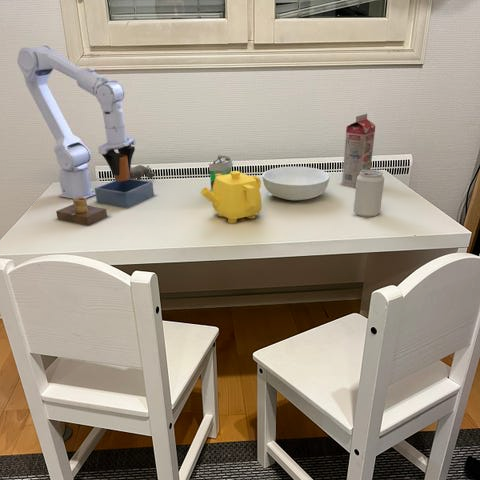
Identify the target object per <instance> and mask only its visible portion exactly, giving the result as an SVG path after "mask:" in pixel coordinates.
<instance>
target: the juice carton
mask: <svg viewBox="0 0 480 480" xmlns="http://www.w3.org/2000/svg"><path fill="white" fill-rule="evenodd" d="M345 128H346V130H345V141H344V143H345V144H344V154H343V163H342V176H341V177H342V178H341V185H342V186H346V187H351V188H356V180H357V176H358V175H360V171H362V170H372V160H373V152H374V141H375V133H376V124H374V123H373V122H372V121H370V120H369V118H368V113H364V114H360V115H357V116H356V118H355V122H353V123H350V124H349V125H347V126H346V127H345Z"/></svg>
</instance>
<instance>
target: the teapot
mask: <svg viewBox="0 0 480 480" xmlns="http://www.w3.org/2000/svg"><path fill="white" fill-rule="evenodd" d="M215 175H216V178H215V181H214V185H213V189H212V192H211V189H210V188H208V187H206V186H205V187H203V188H202V189H201V191H200V195H201V196H203V197H204V198H205V199H206V200H208V201H209V202H210V203H211V206H212V208H213V210H214V211H215V212H216V213H217V216H218V217H225V218H227V222H228V224H229V223H230V224H235V223H237V222H238V219H242V218H247V219H252V220H253V219H255V218H256V215H258V214H260V212H261V209H262V196H261V190H260V189H261V186H262V181H261V179H260V178H259V177H258V176H256V175H249V174H247V173H246V174H245V173H242V172H241V171H239V170H233V171H232V170H231V172H230V174H227V175H222V174H215Z"/></svg>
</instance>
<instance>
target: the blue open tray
mask: <svg viewBox="0 0 480 480" xmlns="http://www.w3.org/2000/svg"><path fill="white" fill-rule="evenodd" d="M94 192H95V193H96V195H95V199H96V203H97V204H103V205H108V206H116V207H119V208H125V209H126V208H127V209H129V208H130V207H133V206H135V205H138V204H140V203H142V202H144V201H146V200H148V199H150V198H153V197H155V192H154V182H153V181H151V180H142V179H140V180H137V178H135V179H129V180H126V181H116V180H115V179H114V180H113V181H110V182H107V183H105V184H102V185H100V186H97V187H95V188H94Z"/></svg>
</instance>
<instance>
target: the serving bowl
mask: <svg viewBox="0 0 480 480" xmlns="http://www.w3.org/2000/svg"><path fill="white" fill-rule="evenodd" d="M330 180H331V177H330V174H329V173H328V172H327V171H325V170H323V169H318V168H315V167H309V166H279V167H275V168H271V169H268V170H266V171H264V172H263V173H262V182H263V185H264V188H265V189H266V190H267V192H268V193H270V194H271V195H273V196H274V197H276V198H280V199H282V200H287V201H305V200H309V199H313V198H316V197H318V196H320V195H321V194H322V193H324V192H325V191H326V189H327V187H328V185H329V182H330Z"/></svg>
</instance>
